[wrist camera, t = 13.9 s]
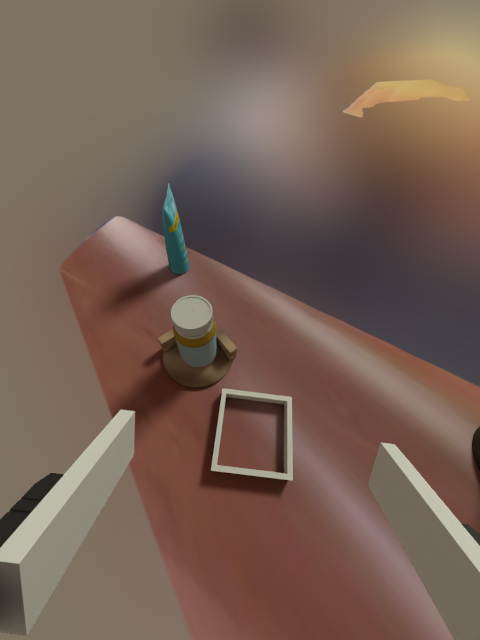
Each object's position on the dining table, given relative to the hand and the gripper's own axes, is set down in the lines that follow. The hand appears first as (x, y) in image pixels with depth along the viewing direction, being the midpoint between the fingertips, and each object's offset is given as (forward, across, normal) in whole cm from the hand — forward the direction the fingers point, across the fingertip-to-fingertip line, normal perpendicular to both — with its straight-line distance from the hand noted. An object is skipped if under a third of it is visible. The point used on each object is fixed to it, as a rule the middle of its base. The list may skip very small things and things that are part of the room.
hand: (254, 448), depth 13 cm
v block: (+35, -9, -9) cm, 37 cm away
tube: (+51, -18, +7) cm, 55 cm away
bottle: (+34, -9, -9) cm, 37 cm away
